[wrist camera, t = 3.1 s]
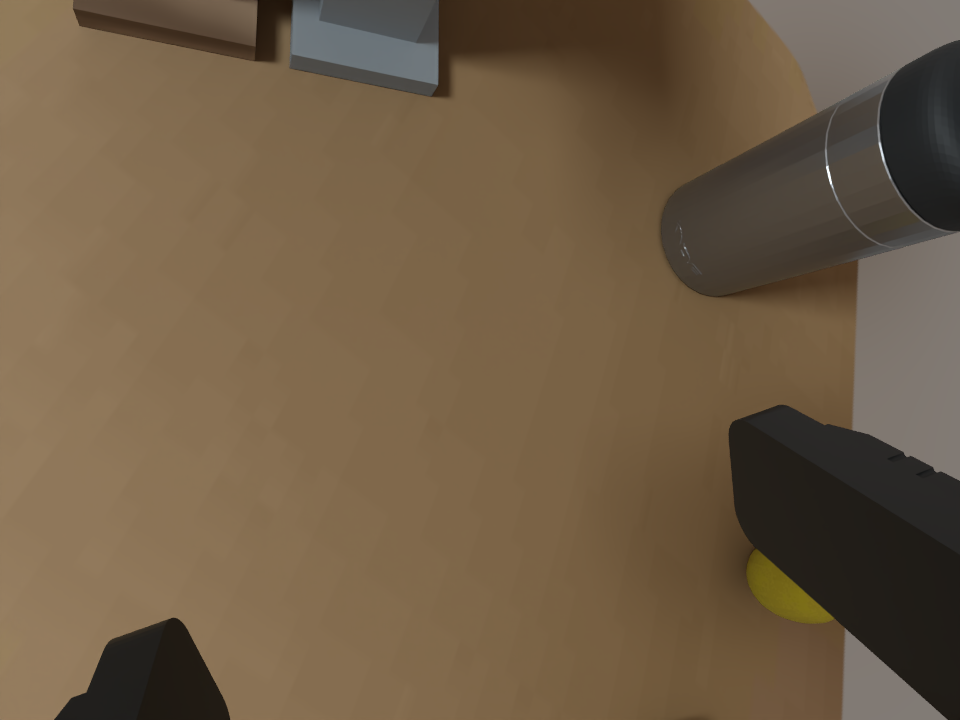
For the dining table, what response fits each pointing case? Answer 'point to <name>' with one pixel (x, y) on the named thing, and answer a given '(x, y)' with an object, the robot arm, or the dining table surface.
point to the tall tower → (178, 22)
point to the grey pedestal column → (368, 41)
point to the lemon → (781, 592)
